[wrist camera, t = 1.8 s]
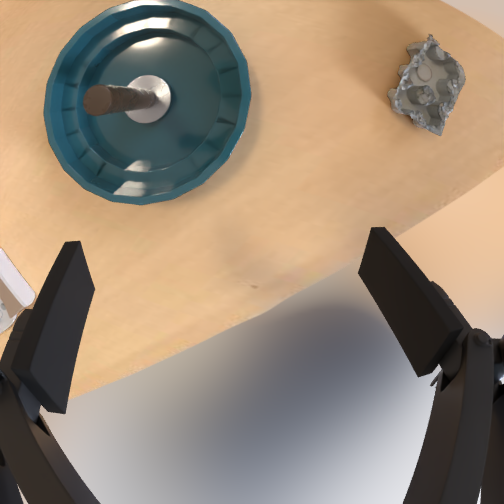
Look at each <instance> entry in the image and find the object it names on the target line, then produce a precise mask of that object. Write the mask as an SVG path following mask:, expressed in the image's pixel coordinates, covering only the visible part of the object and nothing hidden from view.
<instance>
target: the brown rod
mask: <svg viewBox="0 0 504 504" xmlns="http://www.w3.org/2000/svg"><path fill="white" fill-rule="evenodd" d="M172 104H173V91H172V88H171V86H170V85H169V83H168V82H167V81H165V80H164V79H162V78H160V77H158V76H154V75H143V76H140V77H138V78H136V79H134V80H133V81H132V82H131V83H130V84H129V85H128V86H127V87H123V86H113V85H101V84H98V85H94V86H92V87H91V88H89V89H88V90H87V92H86V93H85V95H84V98H83V106H84V109H85V111H86V112H87V113H88V114H90V115H92V116H100V115H106V114H112V113H119V112H125V113H126V114H127V116H128V117H129V118H130V119H132V120H133V121H135V122H138V123H143V124H146V123H152V122H155V121H158V120H160V119H161V118H163V117H164V116H165V115H166V114H167V113H168V112H169V110H170V109H171V107H172Z"/></svg>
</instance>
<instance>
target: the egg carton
mask: <svg viewBox="0 0 504 504" xmlns="http://www.w3.org/2000/svg"><path fill="white" fill-rule="evenodd" d="M427 39H428V40H427V41H422V42H419V43H412V44H410V45H409V46H408V47H407V51H408V53H409V55H410V56H411V60H410V63H409V65H401V66H400V68H399V71H398V75H399V76H400V78H401V81H400V84H399V86H398V88H397V89H390V90H389V91H388V94H387V96H388V97H389V99H390V101H391V108H392V110H393V111H395V112H396V113H400V114H405V115H409V116H411V118H412V119H413V124H414V125H415V126H417V127H419V128H423V129H427V130H428V131H430V132H432V133H434V134H437V135H439V136H441V135H442V131H443V128H444V126H445V121H446V119H447V118H448V117H449V116H448V115H449V113H450V112H452V111H453V108H454V104H455V102H456V100H457V98H458V94H459V92H460V91H461V89H462V87H463V86H464V84H465V80H466V79H465V74H464V70H463V68H462V66H461V65H460V64H459V63H458V61H456V60H455V59H453V58H452V57H451V56H450V54H449V53H448V52H445V51H443V50H442V49H441V48H440V47H439V46H438V45H440V44H439V43H438V42H437V41H436V40H435V39H433V36H432V35H431V34H429V37H428V38H427Z"/></svg>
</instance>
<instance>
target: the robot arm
mask: <svg viewBox="0 0 504 504" xmlns="http://www.w3.org/2000/svg"><path fill="white" fill-rule="evenodd" d="M358 274H359V276H360V277H361V279H362V280H363V282H364V284H365V285H366V287H367V288H368V290H369V292H370V293H371V295H372V297H373V298H374V300H375V302H376V303H377V305H378V307H379V308H380V310H381V312H382V314H383V315H384V317H385V319H386V320H387V322H388V324H389V326H390V327H391V329H392V331H393V333H394V334H395V336H396V338H397V340H398V341H399V343H400V345H401V347H402V349H403V350H404V352H405V354H406V356H407V358H408V359H409V361H410V363H411V365H412V367H413V369H414V371H415V372H416V374H417V376H418V377H421V376H424V375H427V374H430V373H432V372H433V371H434V370H435V368H436V367H437V366H438V364H439V365H440V366H441V368H442V370H441V371H440V372H439V374H438V375H437V376H436V377H435V379H434V380H433V381H432V383H431V385H430V386H433V385H434V384H435V382H436V381H437V386H436V391H435V396H434V401H433V406H432V410H431V415H430V419H429V423H428V427H427V431H426V435H425V439H424V442H423V446H422V449H421V452H420V456H419V459H418V462H417V465H416V468H415V471H414V475H413V477H412V480H411V483H410V486H409V488H408V491H407V494H406V496H405V499H404V501H403V504H477V501H478V497H479V493H480V488H481V503H480V504H504V384H502V382H501V379H502V378H503V376H504V335H503V337H502V338H501V339H492V338H490V336H489V335H488V334H487V333H486V332H485V331H483V330H481V329H477V328H475V329H472V328H471V326H470V325H469V323H468V322H467V321H466V319H465V318H464V316H463V315H462V314H461V313H460V311H459V310H458V308H457V307H456V306H455V305H454V303H453V302H452V300H451V299H449V297H448V295H447V294H446V293H445V291H444V290H443V289H442V288H441V287H440V286H439V285H437V284H436V283H434V282H433V281H432V282H430V281H429V280H428V278H427V277H426V276H425V275H424V273H423V272H422V271H421V270H420V269H419V267H418V266H417V265H416V263H415V262H414V261H413V260H412V259H411V257H410V256H409V255H408V254H407V253H406V251H405V250H404V249H403V248H402V247H401V246H400V244H399V243H398V242H397V241H396V240H395V239H394V237H393V236H392V235H391V234H390V233H389V232H388V231H387V229H386V228H385V227H371V230H370V234H369V238H368V241H367V245H366V248H365V252H364V255H363V258H362V262H361V265H360V269H359V271H358ZM94 291H95V287H94V284H93V281H92V278H91V275H90V272H89V269H88V266H87V263H86V259H85V256H84V252H83V249H82V245H81V242H80V241H71V242H65V243H64V245H63V247H62V249H61V251H60V253H59V255H58V256H57V258H56V260H55V262H54V264H53V266H52V268H51V270H50V272H49V274H48V276H47V278H46V280H45V283H44V285H43V287H42V289H41V291H40V293H39V296H38V298H37V300H36V302H35V305H34V307H33V309H25V310H24V311H23V312H22V313H21V315H20V316H19V317H18V318H17V320H16V322H15V325H14V327H13V331H12V332H11V334H10V337H9V340H8V342H7V344H6V347H5V350H4V352H3V355H2V358H1V360H0V504H23V501H22V498H21V495H20V492H19V489H18V486H19V488H20V490H21V492H22V494H23V495H24V497H25V499H26V500H27V502H28V504H100V502H99V501H98V500H97V499H96V497H95V496H94V495H93V494H92V492H91V491H90V490H89V488H88V487H87V486H86V484H85V483H84V482H83V480H82V479H81V477H80V476H79V475H78V473H77V472H76V470H75V469H74V467H73V466H72V464H71V463H70V462H69V460H68V458H67V457H66V455H65V454H64V452H63V451H62V449H61V447H60V446H59V444H58V443H57V441H56V439H55V438H54V436H53V434H52V432H51V431H50V429H49V427H48V425H47V424H46V422H45V420H44V418H43V416H42V415H41V414H40V413H39V410H40V406H41V405H42V406H43V407H44V408H45V409H46V410H47V411H48V412H53V413H60V414H65V413H66V408H67V402H68V396H69V391H70V386H71V381H72V376H73V371H74V367H75V362H76V358H77V353H78V349H79V345H80V341H81V337H82V333H83V329H84V326H85V322H86V318H87V315H88V311H89V308H90V304H91V301H92V298H93V294H94ZM17 484H18V485H17Z"/></svg>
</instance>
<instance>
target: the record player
mask: <svg viewBox="0 0 504 504" xmlns="http://www.w3.org/2000/svg"><path fill="white" fill-rule="evenodd" d="M34 298H35V292H34V291H33V290H32V288H31V287H30V286H29V285H28V283H27V282H26V281H25V280H24V278H23V277H22V276H21V274H20V273H19V272H18V270H17V269H16V268H15V266H14V265H13V264H12V262H11V261H10V259H9V258H8V257H7V255H6V254H5V252H4V251H3V249H1V248H0V333H2V332H3V331H5V330H6V329H7V328H9V327H10V326H11V325H12V323H13V322H14V321H15V319H16V317H17V313H19V312H20V311H22V310H23V309H24V308H26V307H27V306H29V305H30V304H31V303H32V302H33V300H34Z"/></svg>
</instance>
